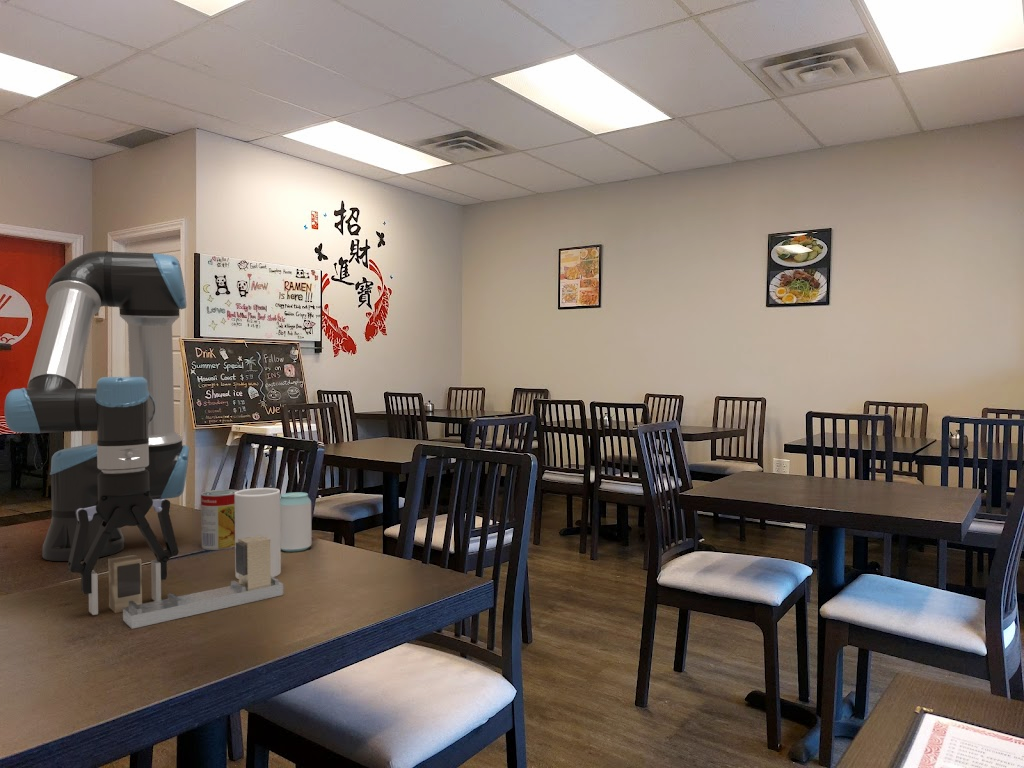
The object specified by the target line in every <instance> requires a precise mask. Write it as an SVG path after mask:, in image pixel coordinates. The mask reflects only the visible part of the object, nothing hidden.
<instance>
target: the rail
mask: <svg viewBox="0 0 1024 768" xmlns="http://www.w3.org/2000/svg"><path fill="white" fill-rule="evenodd" d="M236 572H237V573H239V579H238V581H236V580H231V581H230V585H228V586H223V587H218V588H214V589H213V588H212V589H207V590H203V591H198V592H192V593H187V594H184V595H178V596H177V595H175V594H174V593H172V592H170V593H167V598H165V599H164V598H163V599H161V600H159V601H154V600H153V601H149V602H144V603H142V604H139V605H137V604H136V603H135V602H134V601H129V602H128V603H129V607H124V608H123V612H122V621H123V622H124V624H126V625H127V626H128V627H129V628H130V629H131V630H133V629H138V628H142V627H147V626H151V625H156V624H160V623H165V622H169V621H172V620H173V621H174V620H178V619H181V618H183V619H184V618H187V617H190V616H195V615H201V614H204V613H209V612H214V611H218V610H222V609H223V610H224V609H226V608H232V607H235V606H241V605H244V604H249V603H254V602H258V601H259V602H260V601H262V600H266V599H268V600H269V599H271V598H277V597H280V596H284V583H282V582H281V581H280V580H279V579H278V578H276V577H272V576H271V556H270V539H269V538H266V537H264V536H261V535H260V536H253V537H247V538H241V539H238V543H236Z"/></svg>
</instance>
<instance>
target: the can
mask: <svg viewBox="0 0 1024 768" xmlns="http://www.w3.org/2000/svg"><path fill="white" fill-rule="evenodd" d="M280 540H281V551H282V552H287V553H295V552H301V551H305V550H308V549H309V548H310V547H311V546H312V542H313V541H312V500H311V499H310V497H309V493H307V492H300V491H299V492H298V491H297V492H286V493H282V494H280Z"/></svg>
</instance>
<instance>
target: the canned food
mask: <svg viewBox="0 0 1024 768" xmlns="http://www.w3.org/2000/svg"><path fill="white" fill-rule="evenodd" d="M236 491H239V490H238V489H228V488H227V489H213V490H208V491H203V492H201V493H200V503H201V504H200V508H201V509H200V512H201V513H200V517H201V518H200V519H201V522H200V523H201V527H200V528H201V529H200V530H201V548H202V549H203V550H208V551H220V550H228V549H232V548H235V492H236Z"/></svg>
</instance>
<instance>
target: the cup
mask: <svg viewBox="0 0 1024 768" xmlns="http://www.w3.org/2000/svg"><path fill="white" fill-rule="evenodd" d="M280 498H281V490H280V489H279V488H275V487H257V488H254V487H252V488H246V489H240V490H238V491H236V492H235V547H234V560H235V563H234V568H235V574H234V575H235V578H236V579H238V580H239V573H237V572H236V543H238V539H241V538H247V537H253V536H260V535H261V536H264V537H266V538H269V539H270V556H271V576H272V577H274V578H276V577H277V576H280V574H281V573H282V569H281V568H282V565H281V564H282V559H281V557H282V556H281V555H282V554H281V551H282V549H281V540H280Z"/></svg>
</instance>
